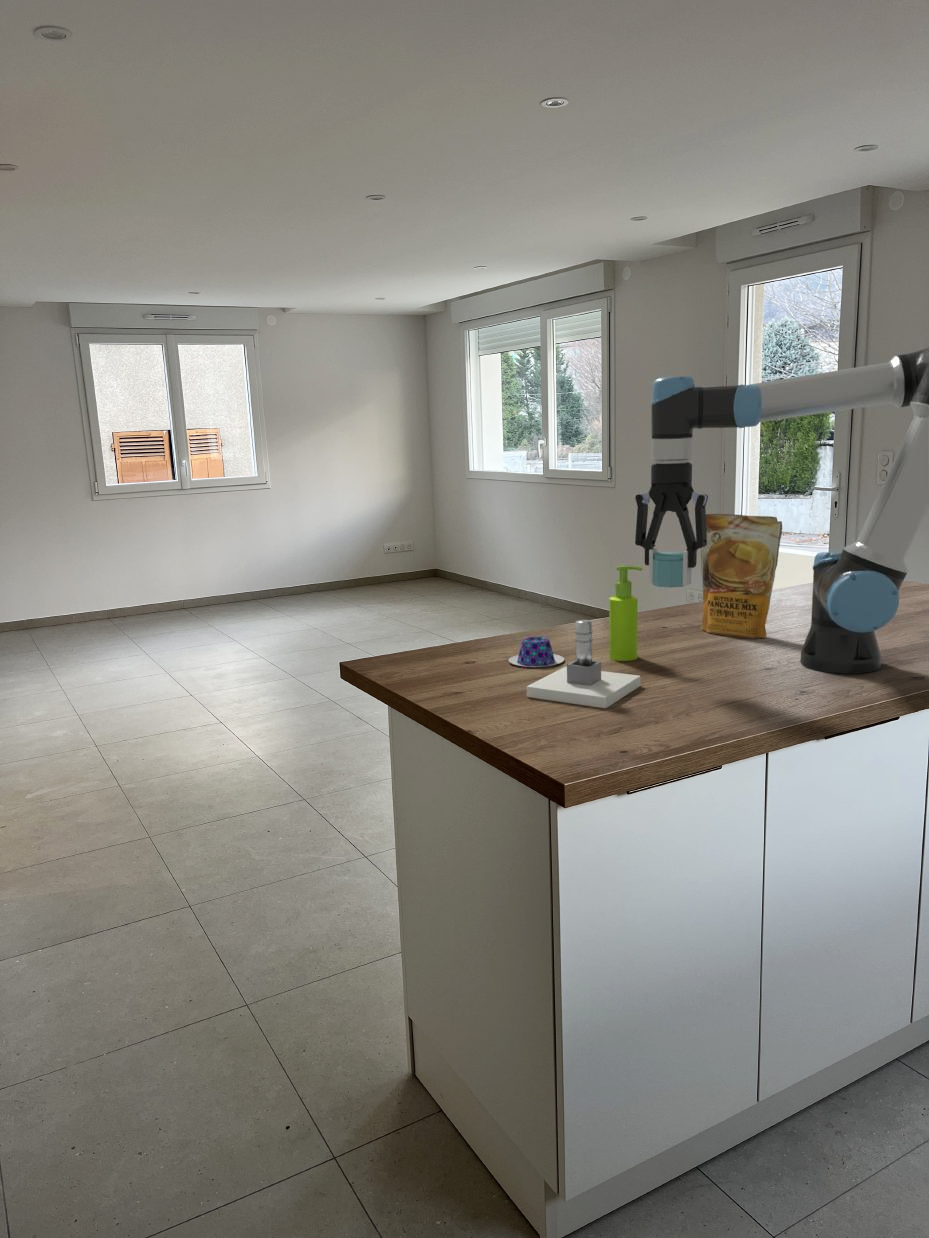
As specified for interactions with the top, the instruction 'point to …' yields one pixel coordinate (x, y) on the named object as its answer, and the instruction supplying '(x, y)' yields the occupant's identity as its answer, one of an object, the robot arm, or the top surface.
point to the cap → (668, 569)
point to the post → (583, 642)
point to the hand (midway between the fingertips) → (669, 583)
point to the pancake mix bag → (739, 573)
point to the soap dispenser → (623, 618)
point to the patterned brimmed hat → (536, 653)
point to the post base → (584, 685)
